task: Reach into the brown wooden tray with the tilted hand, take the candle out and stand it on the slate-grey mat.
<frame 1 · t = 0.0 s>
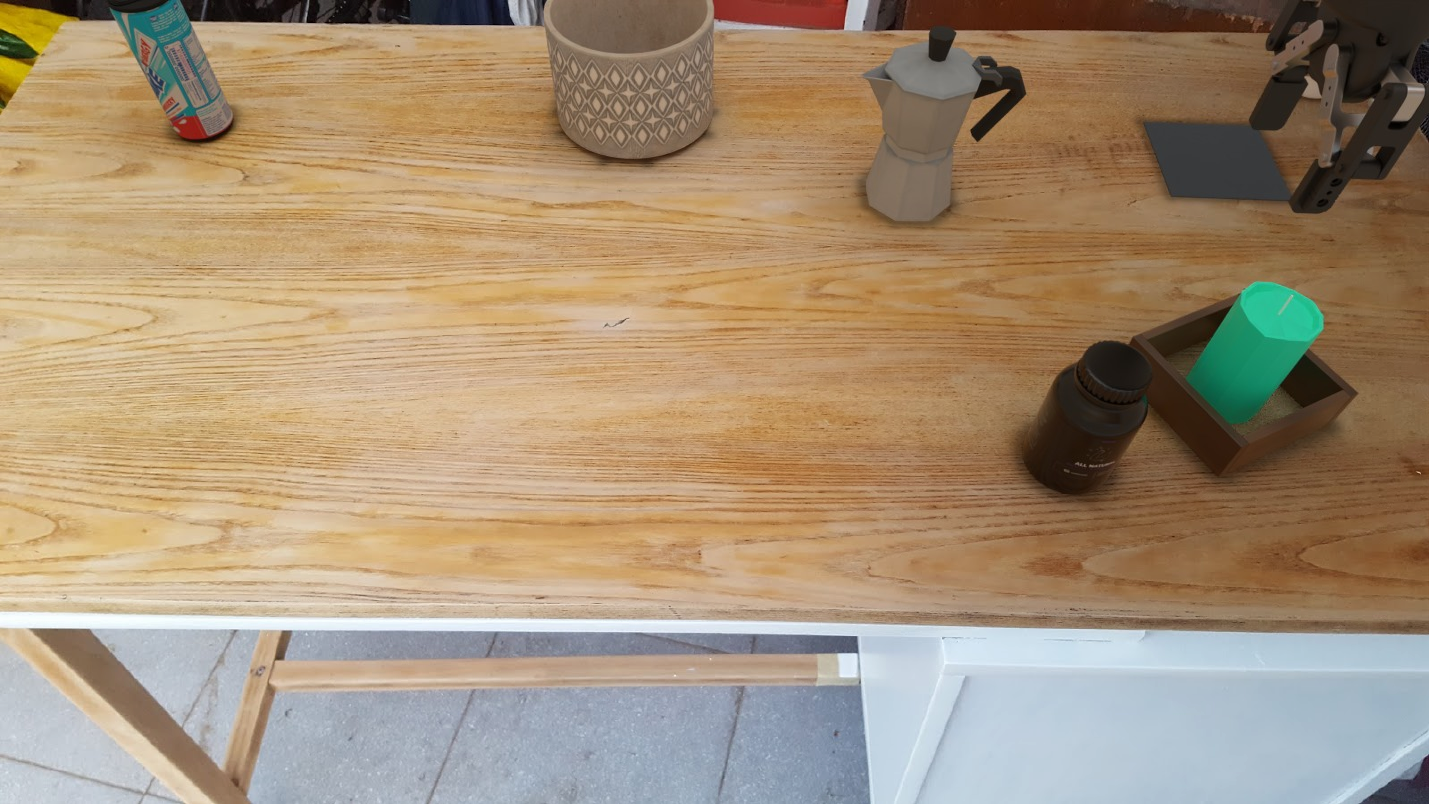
hand: (1283, 166, 63), 22 cm above the table, tool pointing down, fingers open, 8 cm apart
brown wooden tray: (1218, 399, 79), on the table
coffee maker: (916, 199, 94), on the table
cream tall cylinder: (1304, 89, 106), on the table
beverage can: (207, 129, 100), on the table
candle: (1219, 397, 79), resting on brown wooden tray
supplement bottle: (1063, 463, 75), on the table
mat: (1213, 164, 97), on the table
planter: (636, 121, 101), on the table
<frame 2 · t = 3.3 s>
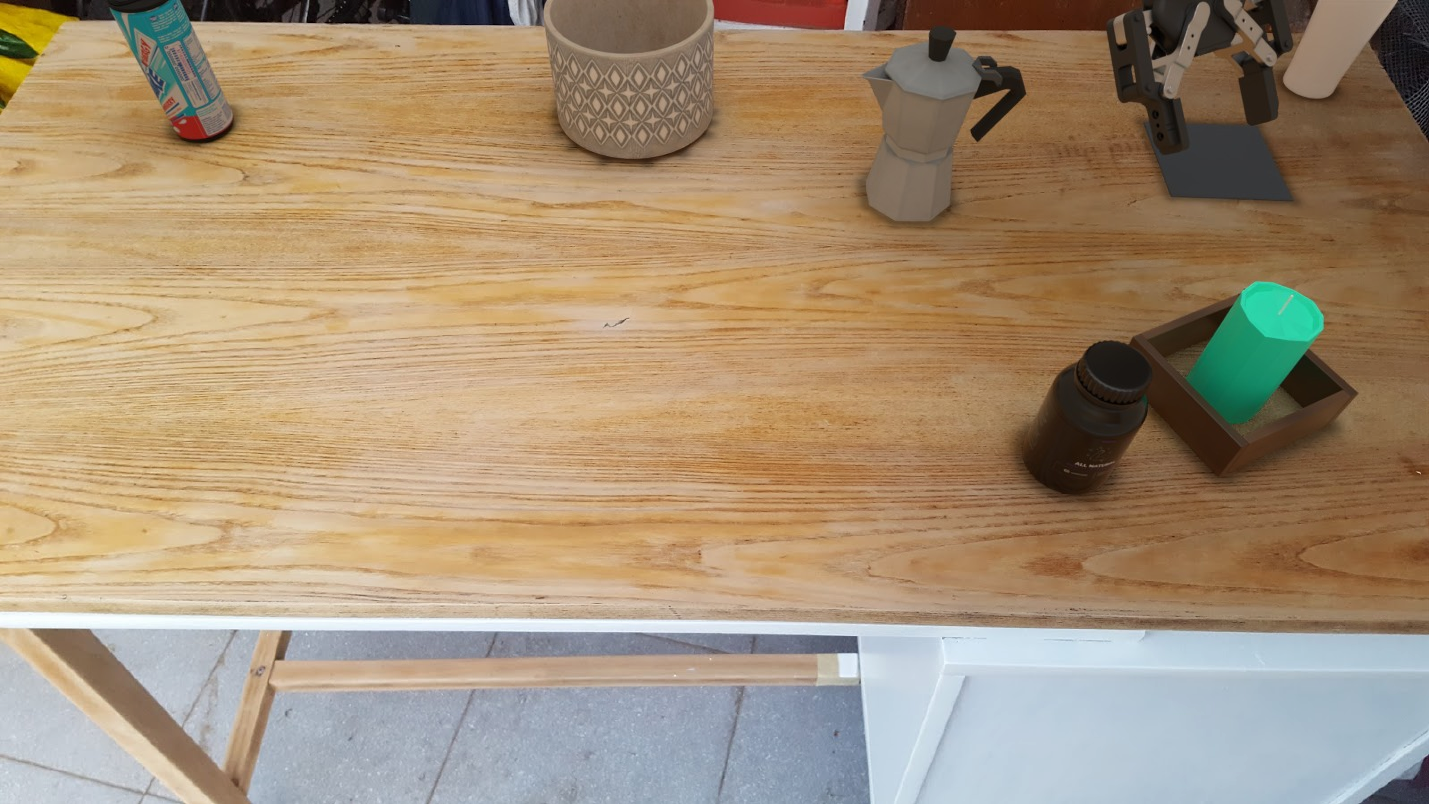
hand: (1220, 137, 70), 19 cm above the table, tool tilted 45°, fingers open, 8 cm apart
nothing on the table moved.
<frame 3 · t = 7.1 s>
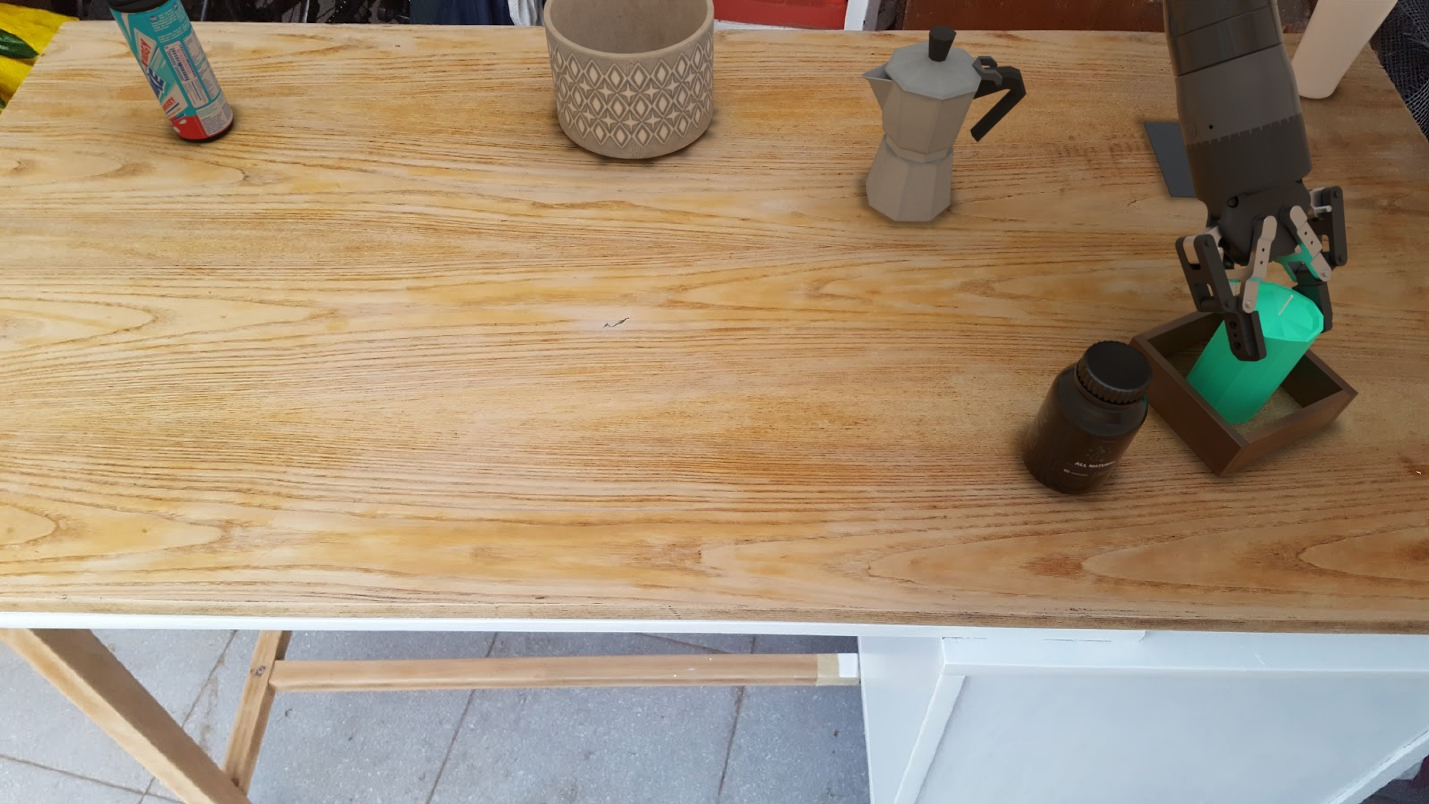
hand: (1284, 344, 71), 9 cm above the table, tool tilted 45°, fingers closed on candle, 6 cm apart
candle: (1219, 397, 79), resting on brown wooden tray, touching gripper
everything else where it was.
when the fingers open (9 cm above the table, at t = 18.0 s): candle stays where it is, resting on mat.
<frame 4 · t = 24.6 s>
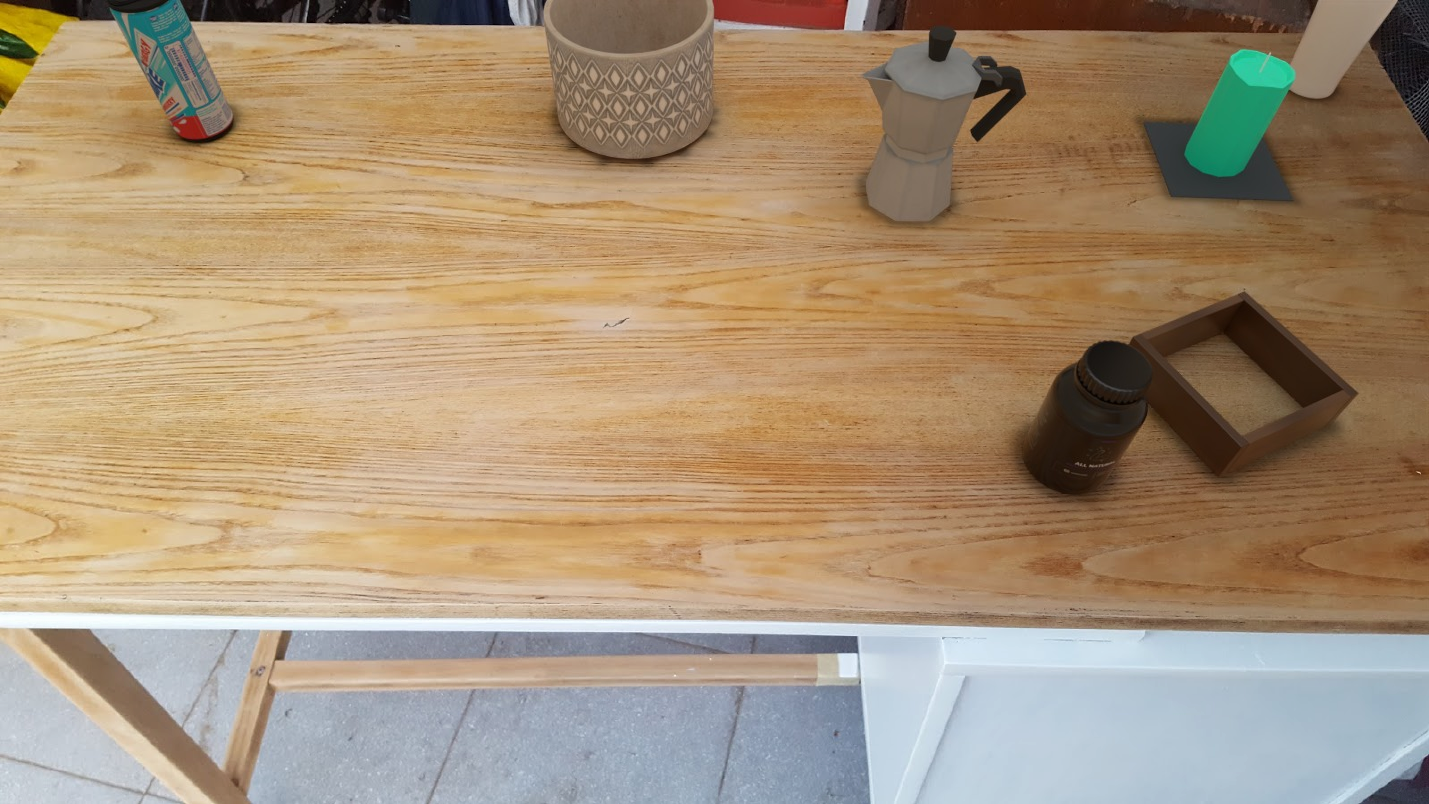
candle: (1213, 159, 97), resting on mat
everything else where it was.
at the end: candle inside the target area on the mat (0.2 cm from its centre), point 0.4 cm above the mat's base; candle tilted 0°; the gripper is holding nothing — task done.
